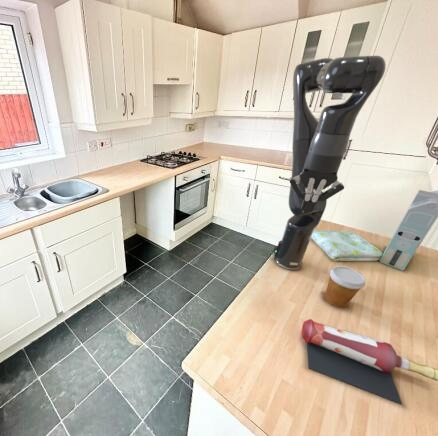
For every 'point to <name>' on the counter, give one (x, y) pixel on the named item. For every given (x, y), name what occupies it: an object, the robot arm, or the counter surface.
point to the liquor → (362, 349)
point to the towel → (346, 246)
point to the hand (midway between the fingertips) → (305, 212)
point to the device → (411, 230)
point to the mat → (352, 372)
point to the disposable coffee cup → (343, 285)
